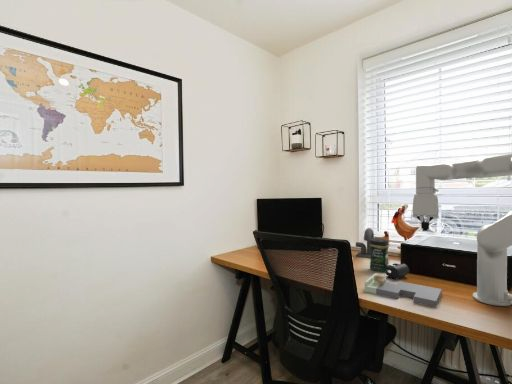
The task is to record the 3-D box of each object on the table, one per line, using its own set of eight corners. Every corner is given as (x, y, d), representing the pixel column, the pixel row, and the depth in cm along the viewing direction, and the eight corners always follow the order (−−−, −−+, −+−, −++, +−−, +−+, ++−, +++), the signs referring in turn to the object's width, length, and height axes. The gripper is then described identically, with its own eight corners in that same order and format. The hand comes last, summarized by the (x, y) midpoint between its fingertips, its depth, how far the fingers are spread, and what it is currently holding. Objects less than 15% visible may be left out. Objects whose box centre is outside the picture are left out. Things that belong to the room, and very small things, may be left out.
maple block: (385, 282, 135) (384, 274, 135) (383, 285, 132) (383, 276, 132) (376, 281, 138) (376, 273, 137) (374, 283, 134) (374, 275, 134)
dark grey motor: (398, 281, 144) (398, 268, 144) (385, 277, 150) (385, 265, 150) (409, 277, 149) (409, 264, 149) (396, 274, 155) (396, 261, 155)
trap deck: (441, 294, 126) (441, 284, 126) (436, 307, 114) (436, 296, 114) (375, 281, 144) (375, 272, 144) (364, 291, 132) (364, 281, 132)
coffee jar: (367, 270, 163) (367, 237, 162) (373, 267, 168) (373, 235, 168) (385, 273, 156) (385, 240, 155) (390, 270, 161) (390, 237, 161)
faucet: (352, 259, 186) (351, 228, 186) (357, 254, 200) (357, 225, 199) (382, 263, 177) (382, 230, 176) (385, 257, 190) (385, 227, 189)
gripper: (445, 191, 131) (445, 230, 132) (409, 191, 141) (409, 228, 141) (443, 191, 126) (443, 233, 126) (405, 191, 135) (405, 230, 136)
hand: (425, 230), depth 134 cm, fingers closed
